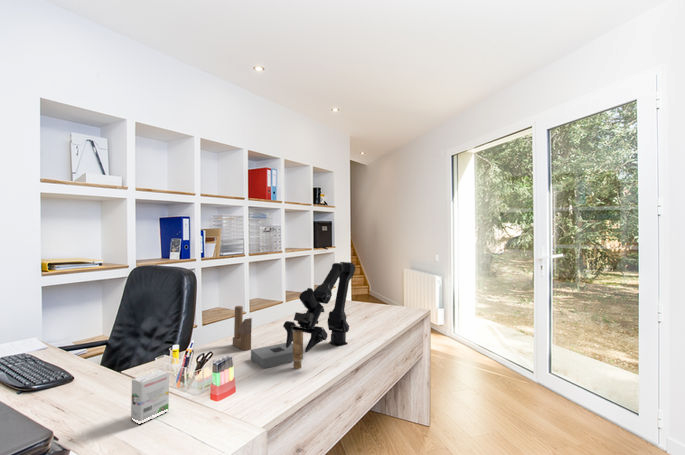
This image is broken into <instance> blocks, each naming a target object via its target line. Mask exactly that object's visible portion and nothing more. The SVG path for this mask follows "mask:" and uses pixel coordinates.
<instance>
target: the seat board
mask: <svg viewBox="0 0 685 455" xmlns="http://www.w3.org/2000/svg"><path fill="white" fill-rule="evenodd" d="M250 360H251V361H252V362H253V363H255V365H257V366H258V367H260V369H262V370H264V369H268V368H273V367H278V366H281V365H285V364H289V363H294V361H293V342H292V343H291V344H290V346H289V347H288V348H286V342H282V343H278V344H272V345H267V346H262V347H258V348H253V349H252V348H251V349H250ZM303 360H304V352H303V353H302V361H303Z"/></svg>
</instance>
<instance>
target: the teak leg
mask: <svg viewBox="0 0 685 455" xmlns="http://www.w3.org/2000/svg"><path fill="white" fill-rule="evenodd" d="M292 343H293V361H294V362H293V369H295V370H301V369H302V362H303V360H302V353H303V354H304V332H303V331H300V330H297V331H293V341H292Z"/></svg>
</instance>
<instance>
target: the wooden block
mask: <svg viewBox="0 0 685 455" xmlns="http://www.w3.org/2000/svg"><path fill="white" fill-rule="evenodd" d="M243 312H244V307H243V306H242V305H236V306H234V322H233V323H234V325H233V326H234V327H233V328H234V329H233V335H234V336H233V337H232V346H233V347H235V348H237V349H240V350H242V351H243V352H246V351H251V350H252V326H253V323H252V319H253V318H252V317H249V318H245V319H244V320H243V317H244V316H243Z"/></svg>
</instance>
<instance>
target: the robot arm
mask: <svg viewBox="0 0 685 455" xmlns="http://www.w3.org/2000/svg"><path fill="white" fill-rule="evenodd" d="M355 272H356V265H355V264H354V263H353V262H349V261H347V262H346V261H340V262H333V263H332V264H331V269H330V270H329V272H328V274H327V275H326V277H325V278H324V280H323V282H322V283H321V284H319V285H318V286H317V287H316V288H315V289H314V290H313V288H310V287H307V289H305V290H304V291H302V292H301V293H299V296H298V298H299V300H300V302H301V303H302V305H303V306H304V308H305V309H307V310H306V312H304V313H303V312H294V313H295V314H294V318H293V321H291V320H290V321H289V320H286V321H284V324H283V328H284V329H285V331H286V333H287V334H286V342H285V343H286V348H288V347H289V346H290V344H291V343H293V331H297V330H300V331H303V333H306V334H310V339H309V340H308V342H307V345H306V346H305V349H304V352H305V353H308V352H309V351H310V350H311V349H312V348H313V347H315V346H316V345H318V344H319V343H320V342H321V343H322V342H323V341H327V338H328V332H327V331H326V329H325V328H324V326H323V327H322V326H318V324H319V321H318V320H319V318H320V316H321V314H322V313H325V309H324V305H322V304H325V305H326V304H328V303H330V302H331V298H332V295H333V293H332V290H333V288H334V286H335V285H336V283H337V281H338V285H337V290H336V291H337V292H336V296H335V302H334V307H333V309H332V311H329V312H328V317H327V321H326V322H327V328H328V330H329V331H331V334H330V341H329V344H331V345H334V346H335V347H340V346H344V345H348V342H347V340H346V339H347V337H346V336H347V334H346V333H349V331H350V325H349V323H348V321H347V315H346V312H345V308H346V302H347V298H348V297H347V296H348V290H349V283H350V281H351V280H352V278H353V277H354V274H355ZM338 279H339V280H338ZM294 321H296V322H297V324H296V323H295V322H294ZM298 325H299V326H298ZM316 325H317V326H316Z"/></svg>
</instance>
